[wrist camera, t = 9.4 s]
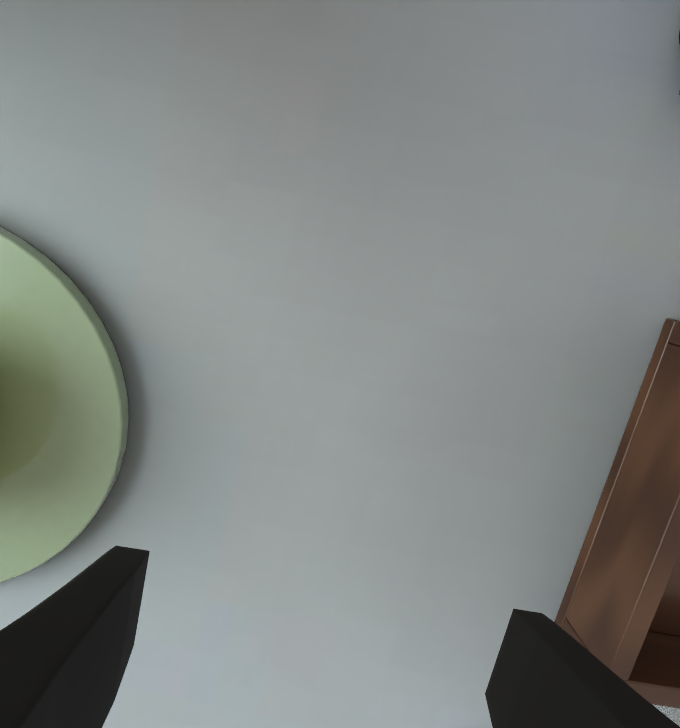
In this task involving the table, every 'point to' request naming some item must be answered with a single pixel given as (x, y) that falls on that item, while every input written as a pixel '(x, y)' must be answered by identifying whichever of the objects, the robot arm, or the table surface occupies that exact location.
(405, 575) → the table surface
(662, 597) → the box
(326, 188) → the table surface
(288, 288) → the table surface
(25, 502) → the plate
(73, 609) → the robot arm
